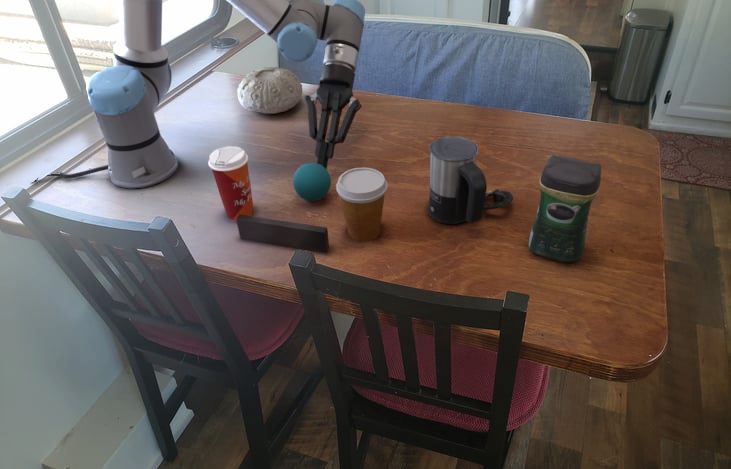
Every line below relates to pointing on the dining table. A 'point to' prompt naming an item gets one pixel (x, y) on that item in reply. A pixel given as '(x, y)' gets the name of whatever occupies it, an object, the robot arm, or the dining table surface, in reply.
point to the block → (283, 233)
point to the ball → (312, 181)
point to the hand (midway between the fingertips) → (320, 171)
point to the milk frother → (459, 183)
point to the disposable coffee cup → (362, 201)
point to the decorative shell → (269, 90)
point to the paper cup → (232, 180)
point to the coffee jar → (564, 208)
